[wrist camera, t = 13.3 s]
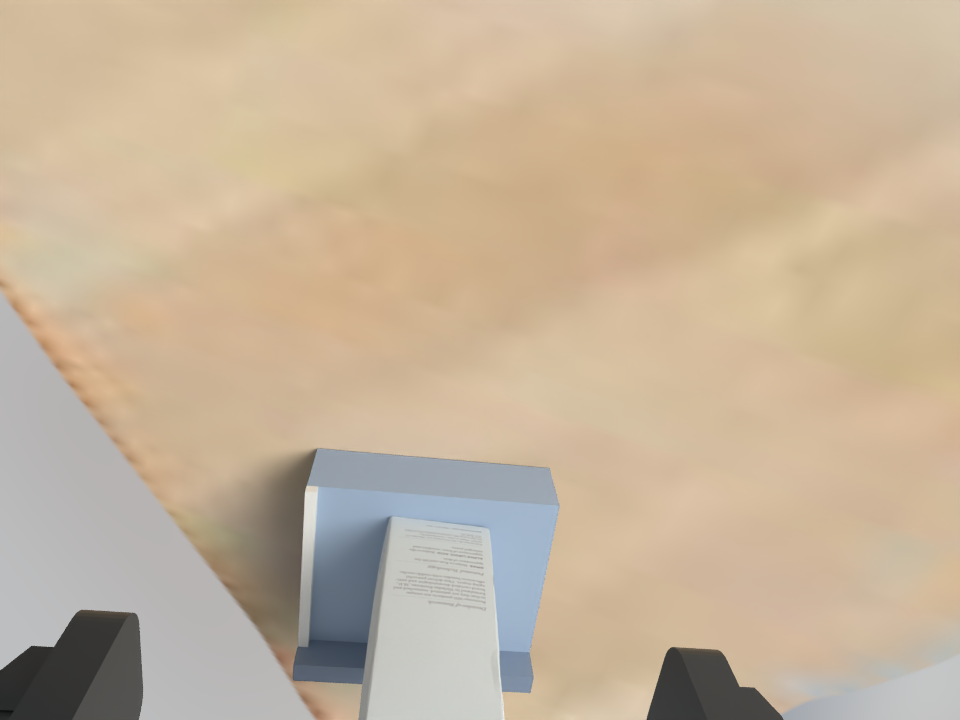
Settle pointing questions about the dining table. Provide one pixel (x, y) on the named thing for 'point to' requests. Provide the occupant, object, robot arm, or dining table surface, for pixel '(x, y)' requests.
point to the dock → (428, 496)
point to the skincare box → (433, 626)
